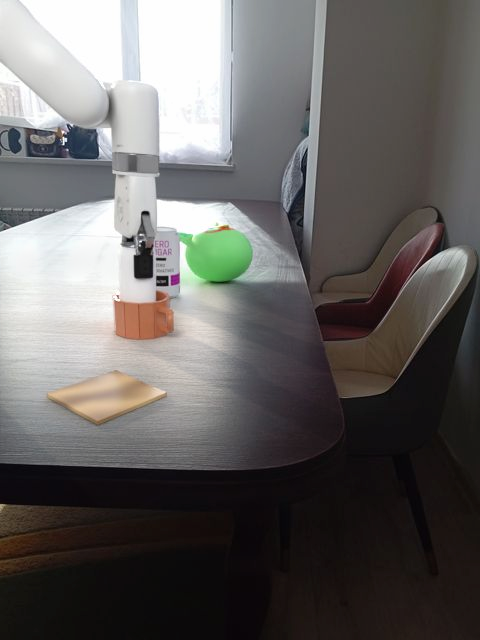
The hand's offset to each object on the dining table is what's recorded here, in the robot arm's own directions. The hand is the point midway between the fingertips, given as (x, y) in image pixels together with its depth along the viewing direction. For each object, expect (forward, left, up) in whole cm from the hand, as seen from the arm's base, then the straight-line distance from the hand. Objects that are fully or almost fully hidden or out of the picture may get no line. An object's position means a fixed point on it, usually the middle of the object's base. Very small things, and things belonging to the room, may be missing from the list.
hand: (137, 272), depth 90 cm
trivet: (+18, -21, -11) cm, 30 cm away
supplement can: (-16, +19, -11) cm, 27 cm away
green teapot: (-18, +40, -11) cm, 45 cm away
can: (0, 0, -7) cm, 7 cm away
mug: (+2, 0, -11) cm, 11 cm away
